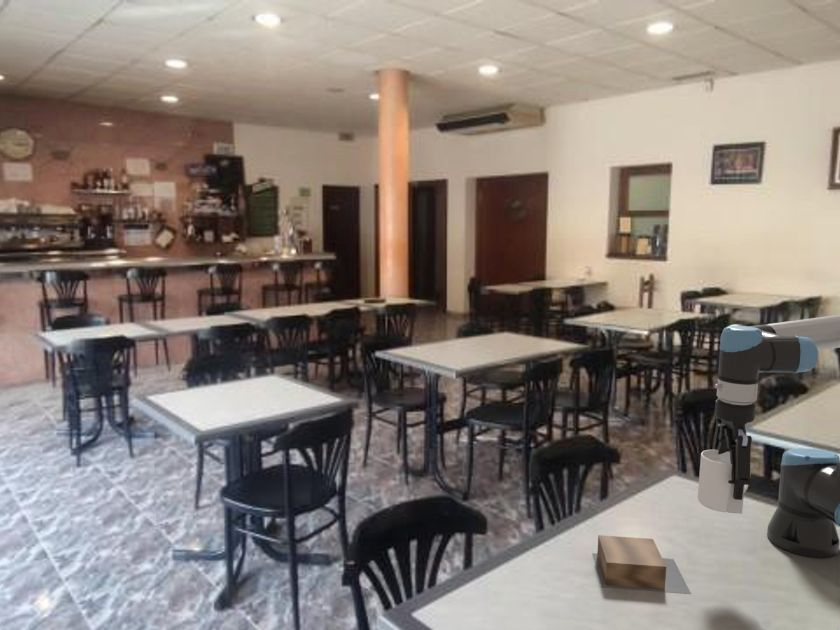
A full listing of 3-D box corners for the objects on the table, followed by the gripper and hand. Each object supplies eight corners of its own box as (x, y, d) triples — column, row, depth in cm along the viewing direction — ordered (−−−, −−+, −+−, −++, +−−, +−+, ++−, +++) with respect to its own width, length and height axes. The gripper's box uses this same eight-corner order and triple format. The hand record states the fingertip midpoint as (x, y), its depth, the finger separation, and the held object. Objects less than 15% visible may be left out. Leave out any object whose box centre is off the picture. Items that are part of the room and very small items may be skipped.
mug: (763, 509, 135) (768, 460, 134) (716, 515, 132) (721, 466, 130) (733, 492, 143) (737, 446, 142) (688, 498, 140) (692, 451, 139)
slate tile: (673, 563, 146) (673, 558, 145) (690, 599, 132) (691, 593, 132) (591, 558, 148) (592, 553, 148) (601, 592, 134) (601, 586, 134)
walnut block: (651, 559, 145) (652, 538, 144) (664, 589, 133) (666, 566, 133) (597, 555, 147) (598, 535, 146) (605, 584, 135) (606, 562, 134)
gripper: (701, 386, 145) (693, 482, 148) (735, 414, 124) (725, 524, 127) (736, 388, 144) (727, 484, 147) (776, 416, 123) (765, 527, 126)
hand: (726, 502), depth 137 cm, fingers closed on mug, 9 cm apart
